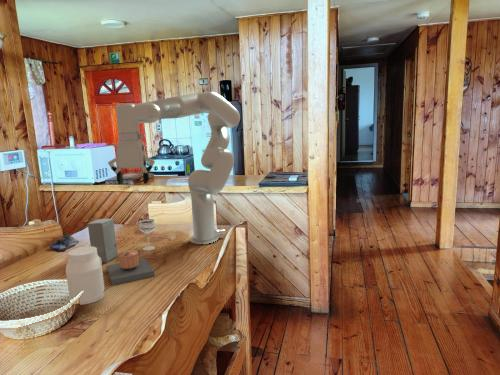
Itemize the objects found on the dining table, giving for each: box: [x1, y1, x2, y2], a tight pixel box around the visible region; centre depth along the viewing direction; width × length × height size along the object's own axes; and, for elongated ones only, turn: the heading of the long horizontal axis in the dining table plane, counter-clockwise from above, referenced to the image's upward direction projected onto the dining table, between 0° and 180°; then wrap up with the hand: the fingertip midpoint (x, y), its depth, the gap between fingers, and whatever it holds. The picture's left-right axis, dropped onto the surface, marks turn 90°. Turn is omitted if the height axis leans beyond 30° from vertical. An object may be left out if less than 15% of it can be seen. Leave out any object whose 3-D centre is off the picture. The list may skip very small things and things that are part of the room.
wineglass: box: [138, 218, 156, 251], centre depth 160 cm, size 7×7×12 cm
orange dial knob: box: [118, 249, 140, 269], centre depth 134 cm, size 6×6×5 cm
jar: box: [65, 245, 105, 306], centre depth 118 cm, size 12×10×15 cm
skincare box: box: [87, 218, 119, 264], centre depth 149 cm, size 8×7×16 cm
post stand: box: [106, 257, 155, 286], centre depth 135 cm, size 14×14×7 cm
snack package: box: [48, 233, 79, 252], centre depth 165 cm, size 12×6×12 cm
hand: (133, 183), depth 143 cm, fingers open, 9 cm apart
